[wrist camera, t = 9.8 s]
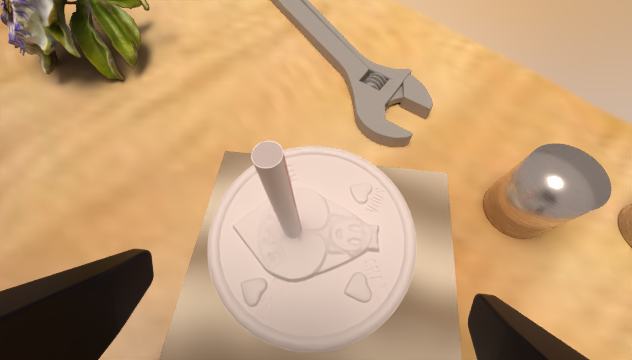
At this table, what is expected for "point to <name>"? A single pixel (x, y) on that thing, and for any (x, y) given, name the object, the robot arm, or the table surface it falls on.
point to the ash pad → (375, 349)
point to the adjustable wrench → (362, 76)
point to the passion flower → (74, 30)
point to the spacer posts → (550, 193)
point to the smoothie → (311, 247)
